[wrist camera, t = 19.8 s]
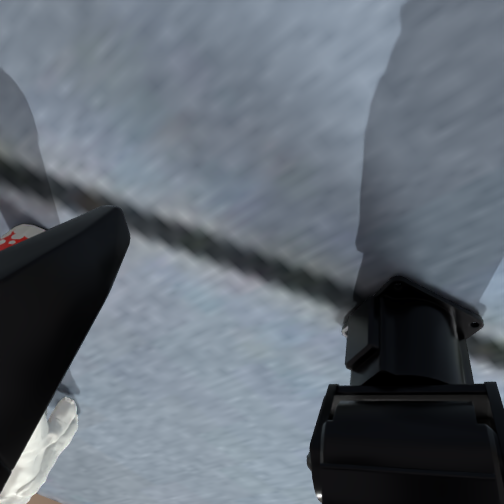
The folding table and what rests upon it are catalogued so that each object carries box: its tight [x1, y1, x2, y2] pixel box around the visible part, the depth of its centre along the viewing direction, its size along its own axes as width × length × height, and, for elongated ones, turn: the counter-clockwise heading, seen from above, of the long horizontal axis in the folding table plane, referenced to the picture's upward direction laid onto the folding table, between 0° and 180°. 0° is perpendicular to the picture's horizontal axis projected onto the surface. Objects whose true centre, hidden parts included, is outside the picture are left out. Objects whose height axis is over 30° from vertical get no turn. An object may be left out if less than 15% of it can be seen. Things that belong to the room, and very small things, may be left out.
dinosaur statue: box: [0, 396, 78, 504], centre depth 44 cm, size 7×24×11 cm, turn 157°
